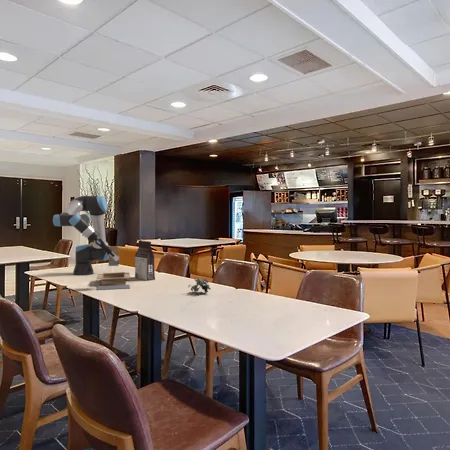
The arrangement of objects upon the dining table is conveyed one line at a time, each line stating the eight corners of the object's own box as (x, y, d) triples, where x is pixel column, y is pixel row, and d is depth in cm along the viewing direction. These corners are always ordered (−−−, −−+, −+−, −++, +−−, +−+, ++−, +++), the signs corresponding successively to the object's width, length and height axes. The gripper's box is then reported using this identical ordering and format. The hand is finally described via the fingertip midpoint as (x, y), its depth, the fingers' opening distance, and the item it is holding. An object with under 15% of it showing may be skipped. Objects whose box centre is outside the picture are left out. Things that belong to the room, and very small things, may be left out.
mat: (97, 286, 243) (97, 286, 243) (129, 285, 249) (129, 284, 249) (97, 290, 232) (97, 289, 232) (130, 288, 238) (130, 287, 238)
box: (108, 264, 242) (108, 246, 242) (118, 264, 244) (118, 246, 243) (108, 266, 236) (108, 247, 236) (118, 265, 238) (118, 247, 238)
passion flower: (205, 301, 227) (215, 286, 223) (192, 301, 219) (202, 285, 215) (196, 288, 234) (206, 274, 230) (183, 288, 226) (193, 273, 222)
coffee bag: (156, 279, 272) (156, 241, 271) (146, 281, 266) (146, 242, 265) (143, 276, 284) (143, 240, 283) (133, 278, 277) (133, 240, 276)
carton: (98, 280, 268) (98, 273, 268) (128, 278, 274) (128, 272, 274) (96, 286, 243) (96, 279, 243) (130, 285, 250) (130, 277, 249)
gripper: (87, 237, 244) (113, 261, 249) (85, 239, 226) (113, 265, 231) (96, 229, 245) (121, 253, 250) (94, 230, 227) (122, 256, 232)
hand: (117, 259), depth 241 cm, fingers closed on box, 6 cm apart
